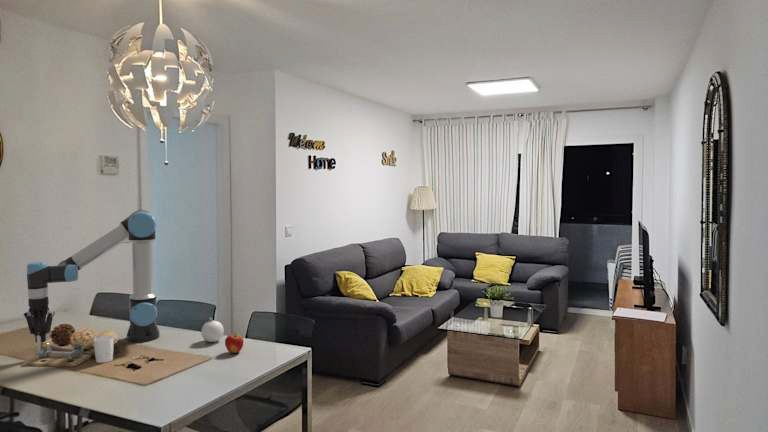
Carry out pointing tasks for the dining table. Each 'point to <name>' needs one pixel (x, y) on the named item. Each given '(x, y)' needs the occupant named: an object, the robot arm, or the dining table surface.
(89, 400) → the dining table surface
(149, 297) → the robot arm
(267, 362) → the dining table surface
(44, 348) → the sliding leg
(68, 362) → the jig board
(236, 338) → the apple
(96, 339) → the white cup
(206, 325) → the ornament
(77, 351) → the dividers beam
